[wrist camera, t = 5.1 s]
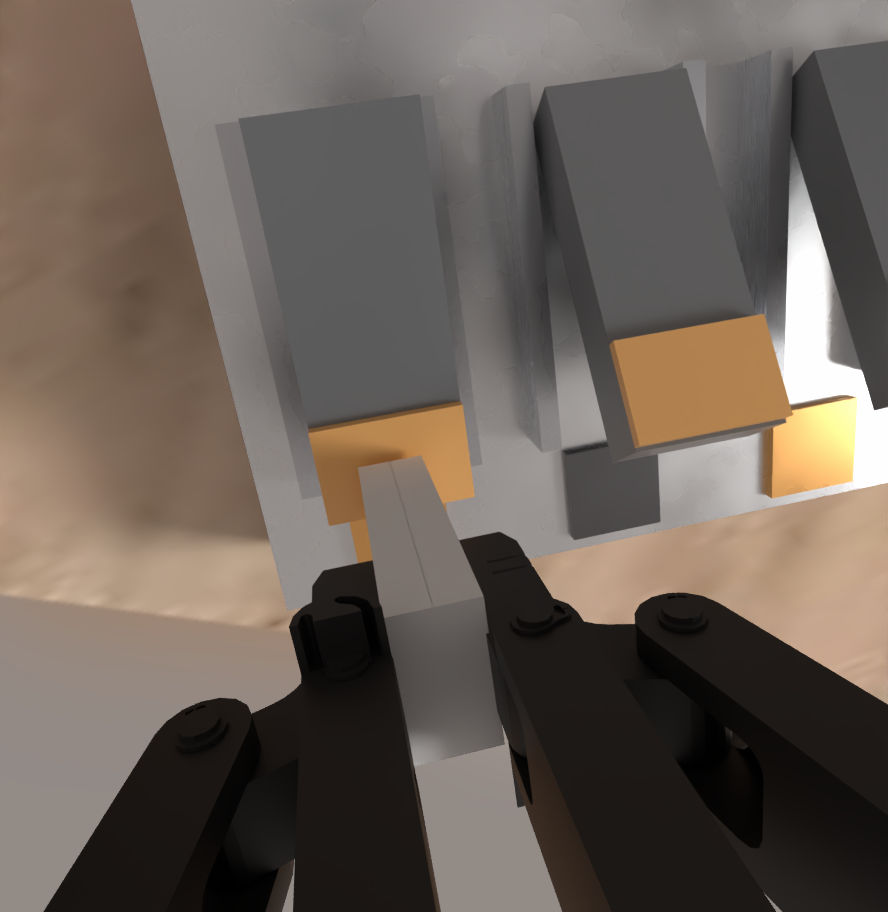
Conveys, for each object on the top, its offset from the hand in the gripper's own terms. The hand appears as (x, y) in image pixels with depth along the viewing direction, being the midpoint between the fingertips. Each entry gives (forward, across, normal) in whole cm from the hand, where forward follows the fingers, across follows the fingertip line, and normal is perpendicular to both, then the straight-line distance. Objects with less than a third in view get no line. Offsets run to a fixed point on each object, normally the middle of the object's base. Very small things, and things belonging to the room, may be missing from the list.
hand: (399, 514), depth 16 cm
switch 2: (+2, +7, +4) cm, 9 cm away
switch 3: (+2, +14, +4) cm, 15 cm away
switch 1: (+2, 0, +4) cm, 5 cm away
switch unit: (+10, +7, +4) cm, 13 cm away
